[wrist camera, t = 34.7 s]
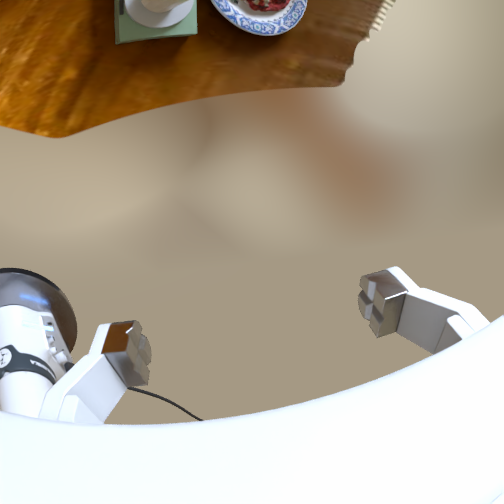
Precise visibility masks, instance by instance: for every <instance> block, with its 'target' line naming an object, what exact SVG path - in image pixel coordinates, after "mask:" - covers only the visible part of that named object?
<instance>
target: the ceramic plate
mask: <svg viewBox="0 0 504 504" xmlns="http://www.w3.org/2000/svg"><path fill="white" fill-rule="evenodd" d="M211 1H212V3H213V4H214V6H215V7H216V9H217V10H218V11H219V12H220V13H221V14H222V15H223V16H224V17H225V18H226V19H227V20H228V21H230V22H231V23H232V24H234V25H235V26H237V27H239V28H240V29H242V30H244V31H247V32H249V33H252V34H256V35H262V36H273V35H278V34H282V33H284V32H286V31H288V30H290V29H291V28H293V27H294V26H295V25H296V24H297V23H298V22H299V20H300V19H301V18H302V16H303V14H304V11H305V9H306V6H307V0H211Z"/></svg>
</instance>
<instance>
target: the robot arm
mask: <svg viewBox="0 0 504 504" xmlns="http://www.w3.org/2000/svg"><path fill="white" fill-rule="evenodd" d="M360 287H361V288H362V289H363V290H362V291H361V292H360V294H359V296H358V297H359V298H358V305H359V310H360V312H361V314H362V316H363V317H364V318H365V319H367V320H369V321H370V325H369V326H370V328H371V329H372V331H373V332H374V334H375V335H376V337H377V338H378V337H382V336H385V335H388V334H391V333H394V332H397V333H398V334H399V335H401V336H403V337H405V338H406V339H408V340H410V341H411V342H413V343H415V344H417V345H418V346H420V347H422V348H424V349H425V350H427V351H429V352H430V353H432V354H433V355H432V356H430V357H428V358H426V359H424V360H421V361H419V362H417V363H415V364H413V365H410V366H408V367H406V368H404V369H401V370H399V371H396V372H394V373H391V374H389V375H386V376H384V377H381V378H379V379H376V380H373V381H370V382H368V383H365V384H362V385H359V386H356V387H354V388H350V389H347V390H344V391H341V392H338V393H335V394H331V395H328V396H325V397H321V398H318V399H314V400H310V401H307V402H303V403H299V404H295V405H291V406H287V407H282V408H278V409H273V410H269V411H263V412H258V413H253V414H247V415H242V416H235V417H229V418H222V419H214V420H206V421H205V420H202V419H200V418H198V417H196V416H194V415H193V414H191V413H190V412H188V411H187V410H185V409H184V408H182V407H181V406H179V405H177V404H176V403H174V402H172V401H170V400H168V399H166V398H164V397H161V396H159V395H156V394H153V393H150V392H147V391H144V390H141V389H137V388H134V386H144V385H148V380H149V372H150V371H149V369H148V367H147V365H148V364H149V363H150V362H151V347H150V344H149V341H148V339H147V337H145V336H144V335H142V334H141V331H142V327H141V325H140V324H139V322H138V321H136V320H133V321H125V322H116V323H108V324H101V325H100V326H99V327H98V329H97V332H96V334H95V338H94V340H93V343H92V345H91V348H90V351H89V354H88V355H85V356H84V357H83V358H82V359H81V360H79V362H77V363H76V364H73V363H72V357H71V355H70V353H69V351H68V349H67V347H66V344H65V342H64V340H63V338H62V336H61V333H60V331H59V329H58V327H57V324H56V322H55V319H54V317H53V315H52V314H51V313H49V312H38V311H35V310H32V309H30V308H27V307H24V306H20V305H8V306H4V307H1V308H0V504H504V315H502V316H501V317H499V318H498V319H496V320H495V321H493V322H492V323H490V322H489V321H488V320H487V319H486V318H485V317H484V316H483V315H482V314H481V313H480V312H479V311H478V310H477V309H476V308H475V307H474V306H473V305H471V304H468V303H465V302H462V301H460V300H457V299H454V298H451V297H448V296H446V295H443V294H440V293H437V292H434V291H431V290H428V289H426V288H419V287H418V286H417V285H416V284H415V283H414V282H413V281H412V280H411V279H410V278H409V277H408V276H407V275H406V274H405V273H404V272H403V271H402V270H401V269H400V268H398V267H396V266H395V267H391V268H388V269H385V270H382V271H379V272H375V273H371V274H367V275H363V276H362V277H361V279H360ZM49 322H51V323H49ZM127 389H129V390H133V391H137V392H141V393H144V394H147V395H150V396H153V397H156V398H159V399H162V400H164V401H166V402H168V403H171V404H172V405H174V406H176V407H178V408H179V409H181V410H183V411H184V412H186V413H187V414H189V415H190V416H192V417H194V418H195V419H197V420H199V421H197V422H185V423H171V424H149V425H110V424H104V421H105V420H106V418H107V417H108V415H109V414H110V413H111V411H112V409H113V408H114V407H115V405H116V404H117V402H118V401H119V400H120V398H121V396H122V395H123V394H124V392H125V391H126V390H127Z"/></svg>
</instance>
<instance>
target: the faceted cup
mask: <svg viewBox="0 0 504 504" xmlns="http://www.w3.org/2000/svg"><path fill="white" fill-rule="evenodd" d="M188 1H190V0H141V2H142V4H143V6H144V7H145V8H146V9H148V10H150V11H152V12H156V13H163V12H167V11H169V10H171V9H174V8H176V7H177V6H179V5H181V4H183V3H185V2H188Z"/></svg>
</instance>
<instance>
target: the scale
mask: <svg viewBox="0 0 504 504" xmlns="http://www.w3.org/2000/svg"><path fill="white" fill-rule="evenodd" d="M114 10H115V42H116V45H117V44H123V43H129V42H135V41H142V40H149V39H158V38H168V37H181V36H191V35H195V34H197V9H196V0H190V1H188V2H185V3H183V4H181V5H179V6H177V7H176V8H174V9H171V10H169V11H167V12H163V13H156V12H152V11H150V10H148V9H146V8H145V7H144V6H143V4H142V2H141V0H114Z"/></svg>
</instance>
